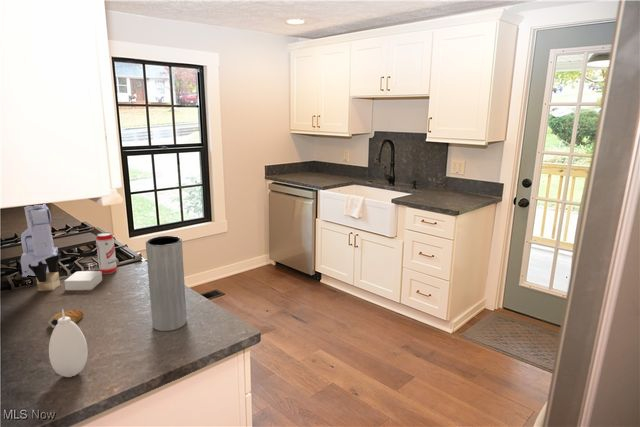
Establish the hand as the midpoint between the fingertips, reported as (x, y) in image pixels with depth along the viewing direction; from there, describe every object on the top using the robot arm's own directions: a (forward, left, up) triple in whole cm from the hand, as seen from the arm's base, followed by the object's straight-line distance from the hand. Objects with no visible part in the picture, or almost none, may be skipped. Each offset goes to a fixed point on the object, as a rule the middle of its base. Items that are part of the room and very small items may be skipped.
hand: (48, 277), depth 148 cm
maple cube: (0, 0, -4) cm, 4 cm away
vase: (+49, -30, -4) cm, 58 cm away
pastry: (+18, -27, -4) cm, 33 cm away
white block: (+11, +2, -4) cm, 12 cm away
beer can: (+15, +14, -4) cm, 21 cm away
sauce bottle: (+31, -54, -4) cm, 63 cm away
